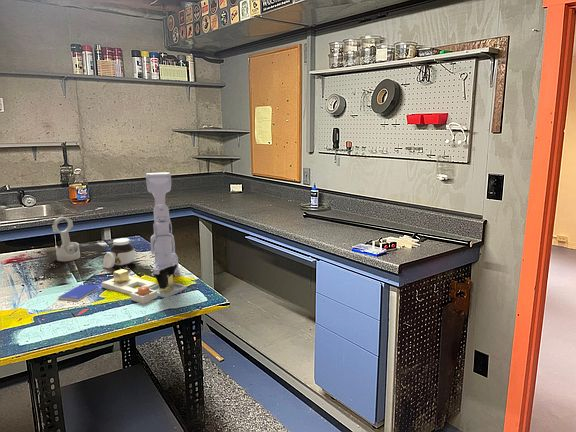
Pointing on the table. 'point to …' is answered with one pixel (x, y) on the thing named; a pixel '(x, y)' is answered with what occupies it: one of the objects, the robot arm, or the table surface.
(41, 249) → the table surface
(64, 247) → the engine component
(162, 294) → the tray
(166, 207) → the robot arm
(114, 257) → the spread jar
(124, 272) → the block
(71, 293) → the hard drive
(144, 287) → the button
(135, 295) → the button housing
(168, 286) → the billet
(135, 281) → the frame
